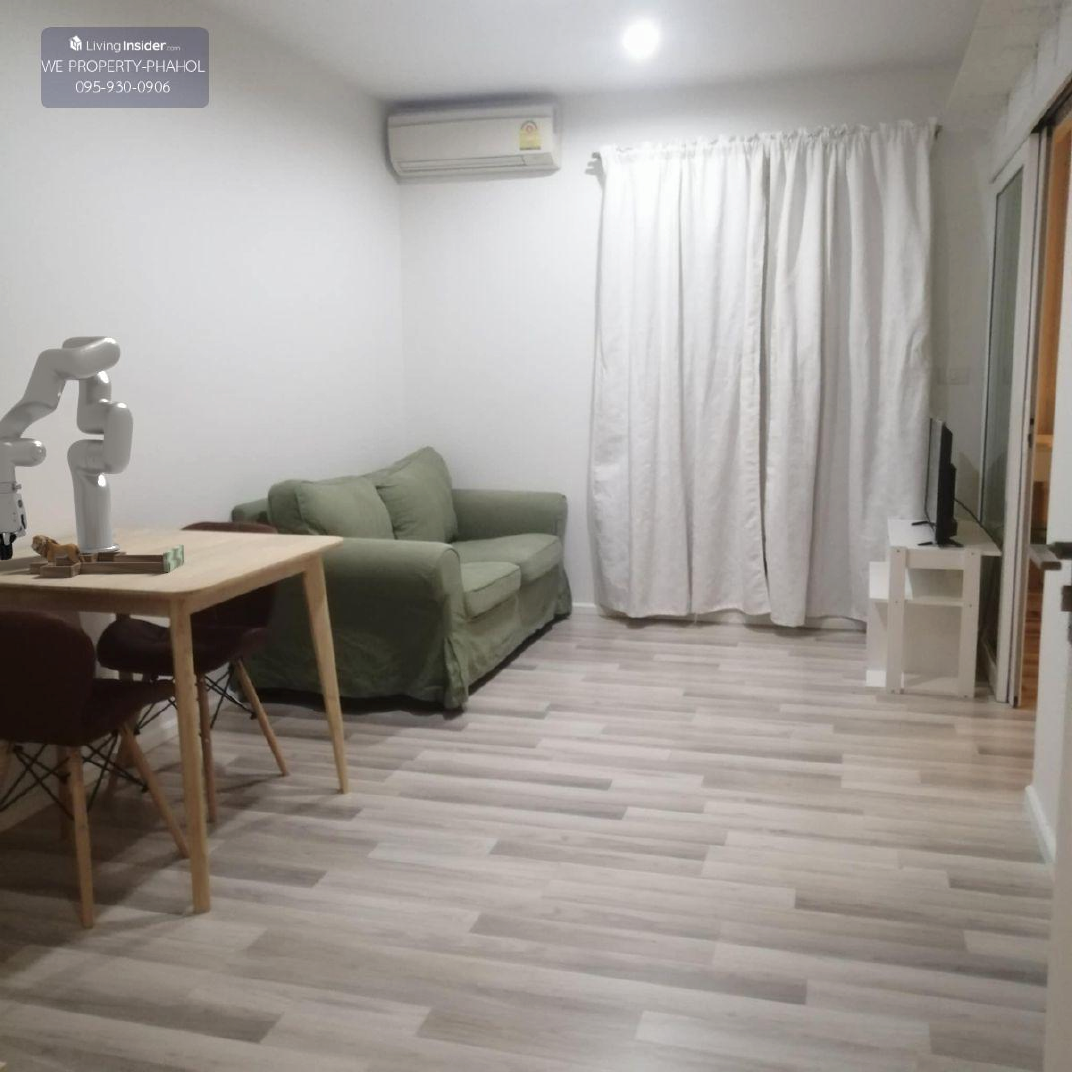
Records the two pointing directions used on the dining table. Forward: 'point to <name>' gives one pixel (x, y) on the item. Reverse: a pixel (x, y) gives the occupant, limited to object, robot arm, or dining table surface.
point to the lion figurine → (55, 549)
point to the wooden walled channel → (111, 563)
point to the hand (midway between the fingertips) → (6, 559)
